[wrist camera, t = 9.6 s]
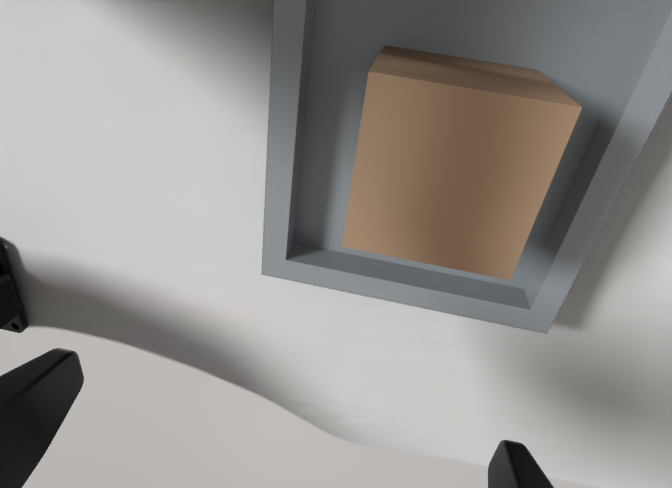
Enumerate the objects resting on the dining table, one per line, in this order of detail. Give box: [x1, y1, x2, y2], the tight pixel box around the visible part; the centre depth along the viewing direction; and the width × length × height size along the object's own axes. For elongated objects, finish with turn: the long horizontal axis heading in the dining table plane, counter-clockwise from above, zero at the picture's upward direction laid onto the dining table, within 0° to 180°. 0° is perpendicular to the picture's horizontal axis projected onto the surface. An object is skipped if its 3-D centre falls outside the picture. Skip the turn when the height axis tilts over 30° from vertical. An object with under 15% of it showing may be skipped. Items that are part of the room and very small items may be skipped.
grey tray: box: [262, 0, 672, 334], centre depth 16 cm, size 12×14×2 cm
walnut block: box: [341, 45, 582, 280], centre depth 14 cm, size 5×5×5 cm
